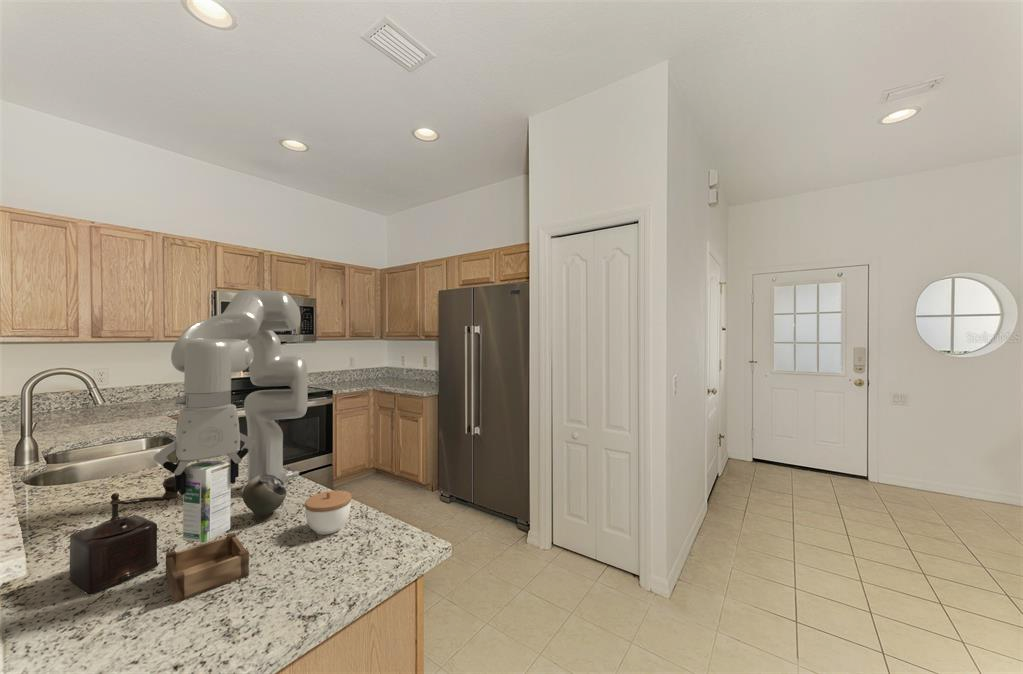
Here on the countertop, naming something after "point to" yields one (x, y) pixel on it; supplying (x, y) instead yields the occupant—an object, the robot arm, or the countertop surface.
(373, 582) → the countertop surface
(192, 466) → the syrup box
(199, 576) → the crate
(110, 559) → the manual coffee grinder
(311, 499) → the lidded jar
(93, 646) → the countertop surface
